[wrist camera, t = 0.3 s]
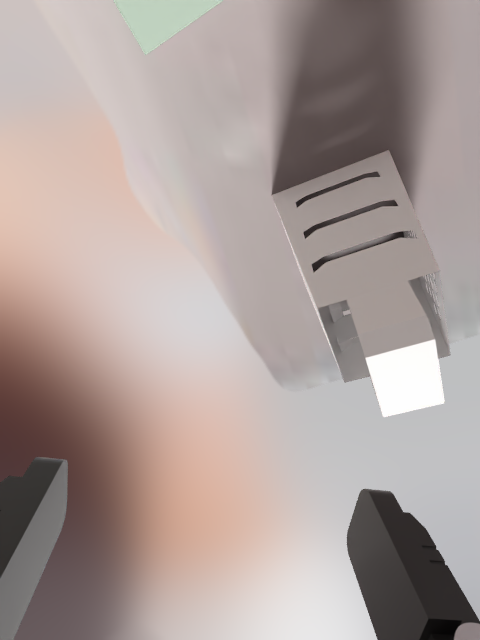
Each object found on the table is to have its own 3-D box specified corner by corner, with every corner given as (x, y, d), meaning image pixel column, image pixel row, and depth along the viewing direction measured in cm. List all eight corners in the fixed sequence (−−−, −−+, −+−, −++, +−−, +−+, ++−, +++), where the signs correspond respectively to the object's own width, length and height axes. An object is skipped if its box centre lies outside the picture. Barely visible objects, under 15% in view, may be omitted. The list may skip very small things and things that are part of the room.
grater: (388, 149, 35) (505, 282, 19) (406, 251, 41) (506, 413, 26) (271, 195, 38) (291, 344, 22) (304, 284, 44) (338, 450, 28)
